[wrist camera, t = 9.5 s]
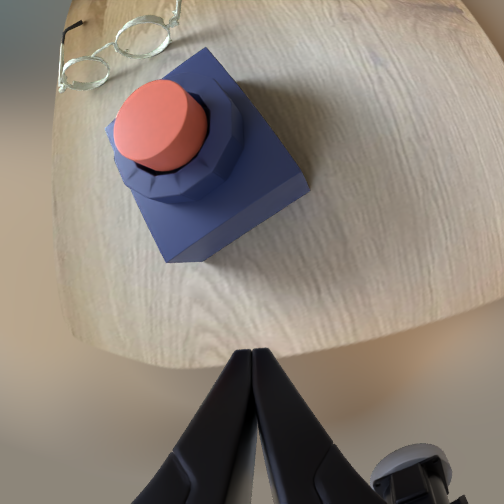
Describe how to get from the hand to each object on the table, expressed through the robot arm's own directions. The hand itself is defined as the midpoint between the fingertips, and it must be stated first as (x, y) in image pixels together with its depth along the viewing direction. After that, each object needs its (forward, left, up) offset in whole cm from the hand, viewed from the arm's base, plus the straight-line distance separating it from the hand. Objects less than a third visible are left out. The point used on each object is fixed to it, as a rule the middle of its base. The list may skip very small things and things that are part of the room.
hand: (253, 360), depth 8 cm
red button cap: (+11, +2, -6) cm, 13 cm away
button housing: (+11, +2, -13) cm, 17 cm away
